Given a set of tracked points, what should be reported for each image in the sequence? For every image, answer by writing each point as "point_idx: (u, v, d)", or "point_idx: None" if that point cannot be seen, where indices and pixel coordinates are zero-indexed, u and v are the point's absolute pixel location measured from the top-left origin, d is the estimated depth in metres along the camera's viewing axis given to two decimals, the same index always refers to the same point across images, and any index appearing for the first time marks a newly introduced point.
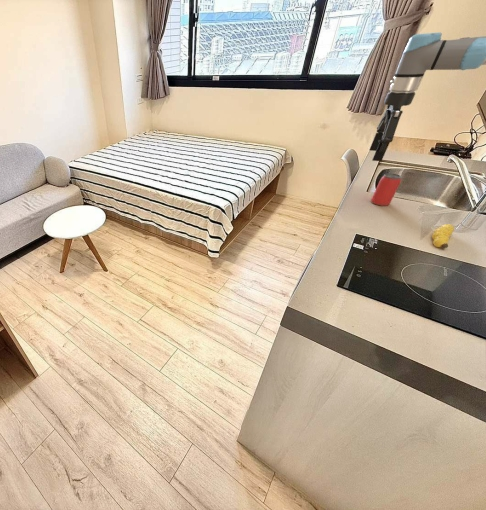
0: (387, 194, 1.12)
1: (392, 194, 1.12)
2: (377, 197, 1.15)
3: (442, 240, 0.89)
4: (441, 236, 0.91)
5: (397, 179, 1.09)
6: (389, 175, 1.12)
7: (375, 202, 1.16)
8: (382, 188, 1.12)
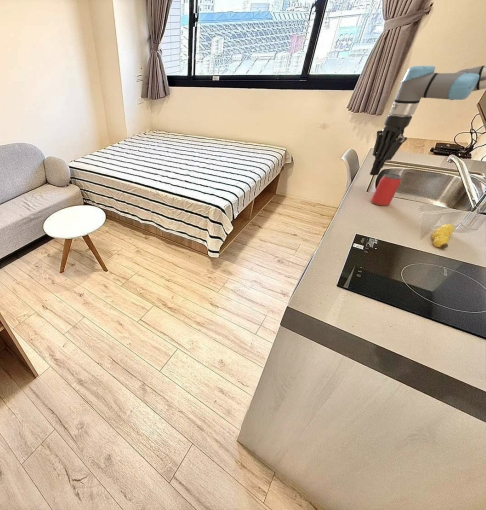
0: (387, 194, 1.12)
1: (392, 194, 1.12)
2: (377, 197, 1.15)
3: (442, 240, 0.89)
4: (441, 236, 0.91)
5: (397, 179, 1.09)
6: (389, 175, 1.12)
7: (375, 202, 1.16)
8: (382, 188, 1.12)
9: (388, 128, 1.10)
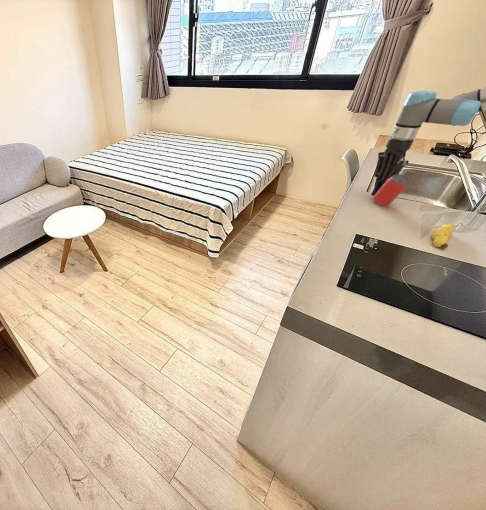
0: (390, 197, 1.11)
1: (395, 197, 1.11)
2: (379, 197, 1.14)
3: (442, 240, 0.89)
4: (441, 236, 0.91)
5: (403, 184, 1.06)
6: (397, 177, 1.08)
7: (376, 201, 1.15)
8: (387, 190, 1.10)
9: (389, 150, 1.10)
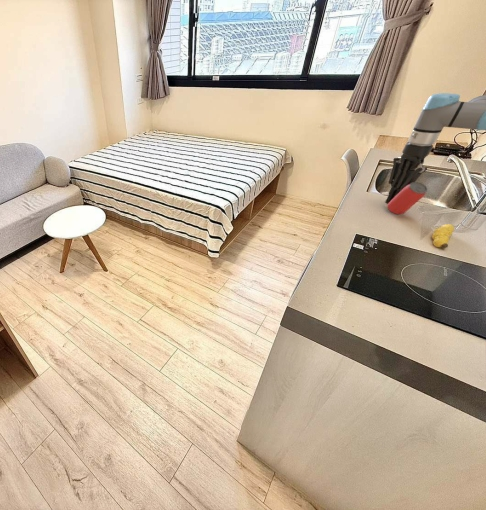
0: (406, 206, 1.04)
1: (411, 205, 1.04)
2: (394, 206, 1.07)
3: (442, 240, 0.89)
4: (441, 236, 0.91)
5: (422, 193, 0.99)
6: (415, 185, 1.01)
7: (391, 210, 1.09)
8: (403, 199, 1.03)
9: (406, 156, 1.03)
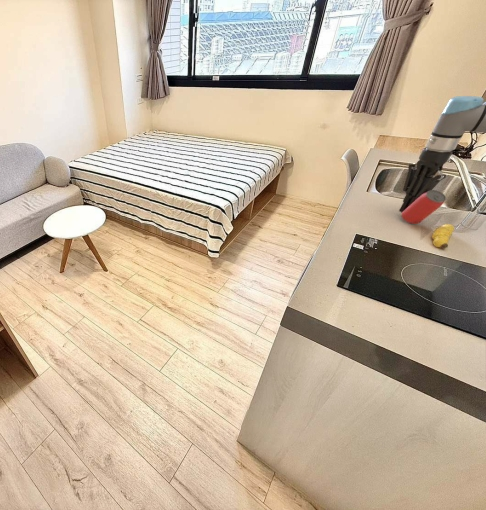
0: (422, 215, 0.98)
1: (428, 215, 0.98)
2: (410, 215, 1.01)
3: (442, 240, 0.89)
4: (441, 236, 0.91)
5: (440, 202, 0.93)
6: (432, 194, 0.95)
7: (406, 219, 1.03)
8: (419, 208, 0.97)
9: (423, 163, 0.97)
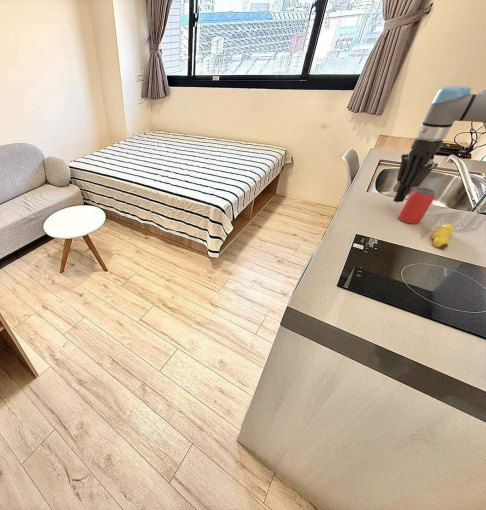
0: (419, 212, 1.00)
1: (424, 211, 1.00)
2: (406, 214, 1.03)
3: (442, 240, 0.89)
4: (441, 236, 0.91)
5: (431, 195, 0.96)
6: (420, 190, 0.99)
7: (404, 220, 1.04)
8: (413, 204, 1.00)
9: (415, 152, 1.00)
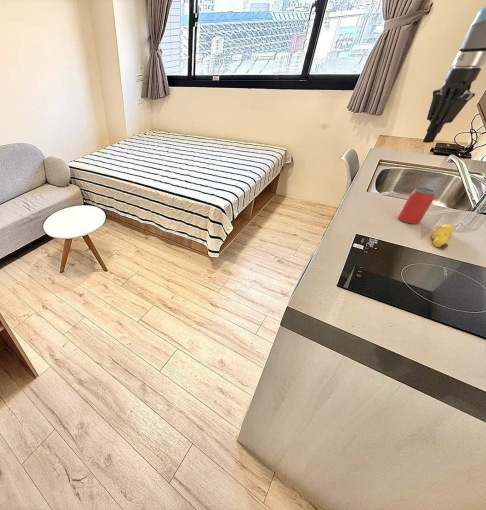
0: (419, 212, 1.00)
1: (424, 211, 1.00)
2: (406, 214, 1.03)
3: (442, 240, 0.89)
4: (441, 236, 0.91)
5: (431, 195, 0.96)
6: (420, 190, 0.99)
7: (404, 220, 1.04)
8: (413, 204, 1.00)
9: (449, 85, 0.95)
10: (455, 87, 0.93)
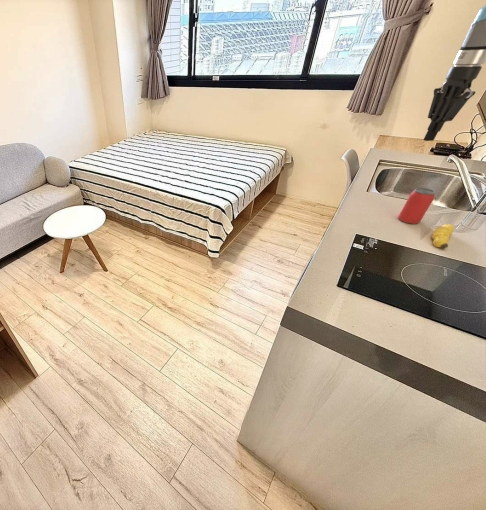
0: (419, 212, 1.00)
1: (424, 211, 1.00)
2: (406, 214, 1.03)
3: (442, 240, 0.89)
4: (441, 236, 0.91)
5: (431, 195, 0.96)
6: (420, 190, 0.99)
7: (404, 220, 1.04)
8: (413, 204, 1.00)
9: (450, 83, 0.95)
10: (456, 85, 0.94)
